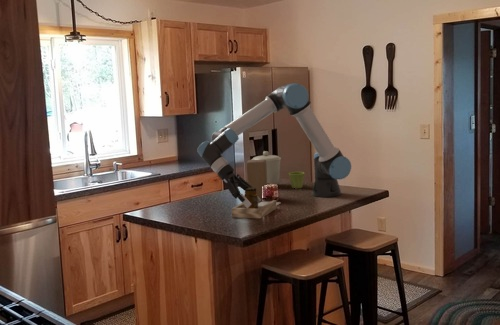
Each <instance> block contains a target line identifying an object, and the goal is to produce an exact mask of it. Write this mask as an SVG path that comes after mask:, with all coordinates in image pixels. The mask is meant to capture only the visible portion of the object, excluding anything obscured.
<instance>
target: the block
mask: <svg viewBox="0 0 500 325" xmlns="http://www.w3.org/2000/svg"><path fill="white" fill-rule="evenodd" d="M245 167H246V168H245V169H246V170H245V171H246V182H247V183H248V184H249V185H251V186H252V187H253V188H256V192H257V196H258V197H259V198H260V199H261V200H263V199H262V186H264V185H267V168H266V160H264V159H262V160H251V159H248V160H247V162H246V164H245Z"/></svg>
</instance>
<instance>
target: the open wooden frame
mask: <svg viewBox="0 0 500 325" xmlns="http://www.w3.org/2000/svg"><path fill="white" fill-rule="evenodd" d="M268 202H269V203H267V204H266V205H264V206H262V207H258V209H252V208H245V205H244V204H243V203H242V202H241V203H240V204H238V205H236V206H234V207H232V208H231V217H232V218H243V219H244V218H245V219H246V218H247V219H263V217H265V216H267V215H269V214H270V213H272V212H273V211H275V210H276V209H277V206H276V202H277V200H275V199H273V200H271V201H268Z"/></svg>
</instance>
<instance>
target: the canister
mask: <svg viewBox="0 0 500 325" xmlns="http://www.w3.org/2000/svg"><path fill="white" fill-rule="evenodd" d="M269 153H270V152H269V151H267V150H266V151H265V150H263V152H262V155H258V156H254V157H253V158H251V159H250V160H262V159H264V160H266V168H267V183H275V184H277V185H278V184H279V182H280V172H281V159H282V157H280V156H279V155H275V154H273V155H272V154H269Z"/></svg>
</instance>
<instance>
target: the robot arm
mask: <svg viewBox="0 0 500 325" xmlns="http://www.w3.org/2000/svg"><path fill="white" fill-rule="evenodd" d="M311 105H312V102H311V100H310V99H309V91H308V89H307V88H306V86H304V85H303V84H300V83H296V82H292V83H286V84H282V85H280V86H278V87H276V89H275V90H273V91H272V92H271V93H269V94H268V95H266V96H265V99H264V100H263V101H261V102H259V103H258V104H256V105H255V106H253V107H252V108H251V109H249V110H247V111H246V112H245V113H243V114H242V115H240V116H239V117H236V119H234V120H232V121H231V122H229V123H228V124H226V125H225V126H224V127H222V128H221V129H218V130H216V131H214V132H212V134H211V136H210V138H211V141H209V140H205V141H203V142H202V143H200V144H199V146H198V147H197V150H196V151H197V154H198V155H199V156H200V158H202V160H203V161H204V162H205V163H206V164H207V165H208V167H210V169H212V172H214V173H215V174H216V175H217V177H219V178H220V180H221V181H222V183H223V184H224V185H225V186H226V188H227V189H228V191H229V193H230V194H231V195H232V197H233V198H234V199H238V200H239V201H240V202H241V203H243V204H244V205H245V207H246V208H249V206H250V205H251V203H250V202H249V201H248V200H247V198H246V197H245V196H244V195H245V194H243V193H241V191H240V189H242V190H243V191H245V189H246V188H253V187H252V186H251V185H249V184H248V183H247V180H245V179H244V178H242V177H241V175H240V174H239V173H238V174H235V173H234V172H235V169H234V167H232V165H231V164H229V161H227V159H225V157H223V154H224V153H225V152H226V151H227V150H229V149H230V148H231V147H232V146H233V145H235V144H236V142H238V141H239V139H240V138H239V136H240V135H241V134H243V133H244V132H246V131H247V130H249V129H250V128H252V127H254V126H255V125H256V124H258V123H260V122H261V121H262V120H264V119H265V118H267V117H268V116H270V115H271V114H273V113H278V112H280V111H282V110H284V109H286V110H287V112H288V113H289V114H288V115H290V116H291V117H294V118H295V119H296V121H297V122H298V123H299V125H300V127H301V129H302V130H303V132H304V133H305V135H306V136H307V138H308V139H309V141H310V143H311V145H312V146H313V148H314V149H315V151H316V152H315V153H314V154H313V165H314V166H313V167H314V182H313V183H314V184H313V185H312V190H311V195H312V196H314V197H319V198H331V197H338V196H341V194H342V193H341V192H342V189H341V187H340V184H339V181H338V180H344V179H346V178H347V177H348V176H349V175H350V173H351V170H352V163H351V160H350V159H349V158H348V157H346V156H344V154H343V153H342V151H341V150H340V148H339V147H335V146H334V144H333V142H332V141H331V139H330V138H329V135H328V133H327V132H326V131H325V130H324V128H323V125H321V123H320V121H319V120H318V118H317V116H316V114H315V113H314V111H313V109H312V108H311ZM239 188H240V189H239ZM257 197H258V196H257ZM260 202H262V199H260V198H259V197H258V204H259V203H260Z"/></svg>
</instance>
